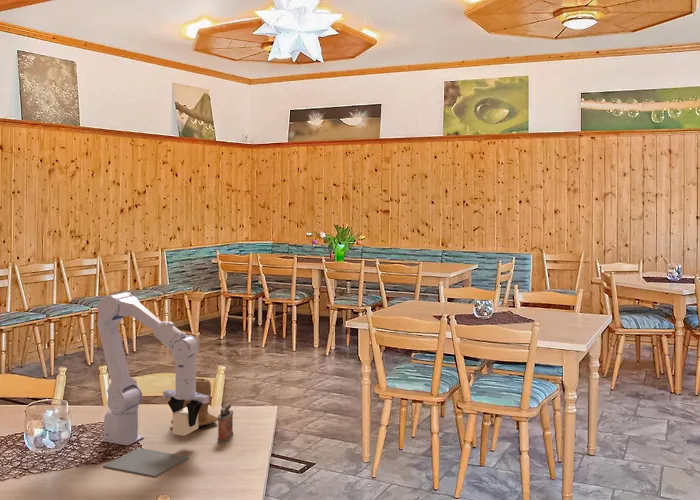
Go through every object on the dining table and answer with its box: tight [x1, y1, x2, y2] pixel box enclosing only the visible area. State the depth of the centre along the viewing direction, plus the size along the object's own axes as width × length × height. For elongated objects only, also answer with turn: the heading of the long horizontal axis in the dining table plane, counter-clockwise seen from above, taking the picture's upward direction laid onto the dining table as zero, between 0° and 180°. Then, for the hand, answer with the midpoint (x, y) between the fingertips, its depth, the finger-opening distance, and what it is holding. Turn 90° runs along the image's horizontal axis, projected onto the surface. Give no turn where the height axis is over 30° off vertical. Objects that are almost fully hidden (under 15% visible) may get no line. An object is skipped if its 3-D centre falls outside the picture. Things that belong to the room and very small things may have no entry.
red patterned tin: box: [217, 403, 234, 443], centre depth 217 cm, size 8×3×10 cm, turn 168°
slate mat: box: [103, 447, 190, 478], centre depth 197 cm, size 17×15×1 cm
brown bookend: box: [170, 377, 218, 428], centre depth 228 cm, size 15×12×15 cm
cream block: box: [172, 407, 199, 436], centre depth 208 cm, size 4×7×6 cm, turn 158°
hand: (185, 424), depth 208 cm, fingers closed on cream block, 4 cm apart
